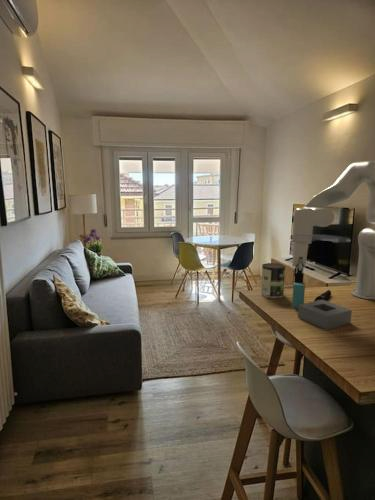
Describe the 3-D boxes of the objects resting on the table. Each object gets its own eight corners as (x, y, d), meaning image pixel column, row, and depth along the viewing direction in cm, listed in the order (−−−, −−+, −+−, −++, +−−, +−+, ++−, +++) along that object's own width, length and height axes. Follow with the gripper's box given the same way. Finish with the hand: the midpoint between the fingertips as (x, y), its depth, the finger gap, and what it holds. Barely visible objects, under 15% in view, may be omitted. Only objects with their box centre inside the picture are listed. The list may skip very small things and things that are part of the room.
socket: (297, 317, 123) (298, 304, 122) (321, 311, 129) (322, 299, 128) (326, 330, 112) (327, 316, 111) (350, 323, 118) (351, 310, 117)
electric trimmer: (333, 297, 148) (333, 290, 148) (322, 305, 137) (322, 298, 136) (324, 295, 151) (325, 288, 150) (313, 303, 139) (313, 296, 139)
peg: (292, 304, 137) (293, 281, 135) (302, 305, 136) (304, 282, 134) (292, 307, 133) (293, 284, 131) (303, 309, 132) (305, 285, 130)
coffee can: (285, 293, 152) (287, 264, 149) (280, 299, 143) (282, 269, 140) (264, 290, 157) (265, 262, 154) (258, 296, 148) (259, 266, 146)
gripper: (291, 235, 138) (288, 274, 141) (292, 241, 122) (288, 284, 125) (310, 236, 136) (306, 275, 139) (313, 242, 120) (309, 286, 123)
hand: (298, 279), depth 132 cm, fingers open, 9 cm apart
